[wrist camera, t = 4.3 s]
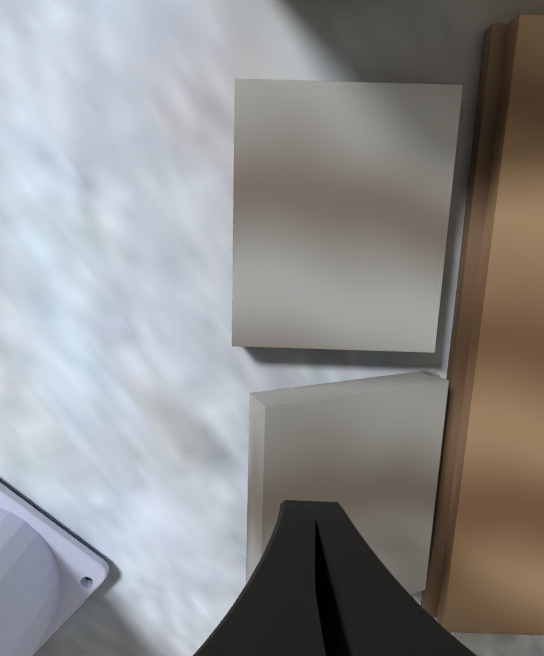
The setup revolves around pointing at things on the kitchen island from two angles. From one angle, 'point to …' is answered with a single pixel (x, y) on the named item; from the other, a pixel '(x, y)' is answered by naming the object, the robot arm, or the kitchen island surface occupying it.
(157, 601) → the kitchen island surface
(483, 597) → the board
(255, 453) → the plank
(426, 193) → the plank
